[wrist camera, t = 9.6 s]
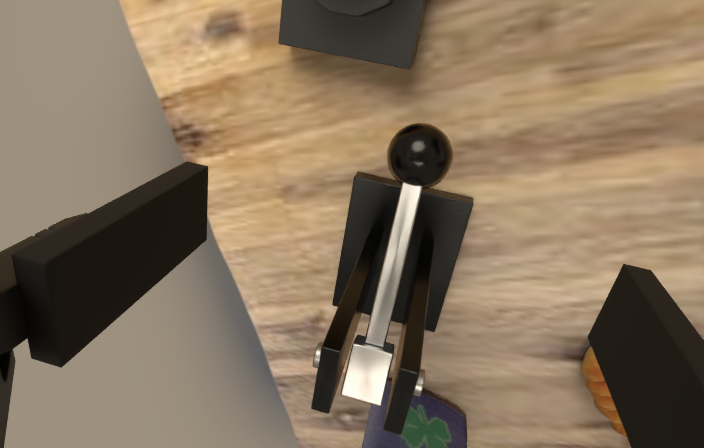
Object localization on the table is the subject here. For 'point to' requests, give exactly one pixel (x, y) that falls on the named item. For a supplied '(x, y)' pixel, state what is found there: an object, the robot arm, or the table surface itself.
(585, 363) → the pastry
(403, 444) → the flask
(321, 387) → the switch bracket
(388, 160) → the switch lever
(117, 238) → the robot arm
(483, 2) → the table surface
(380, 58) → the stop box
